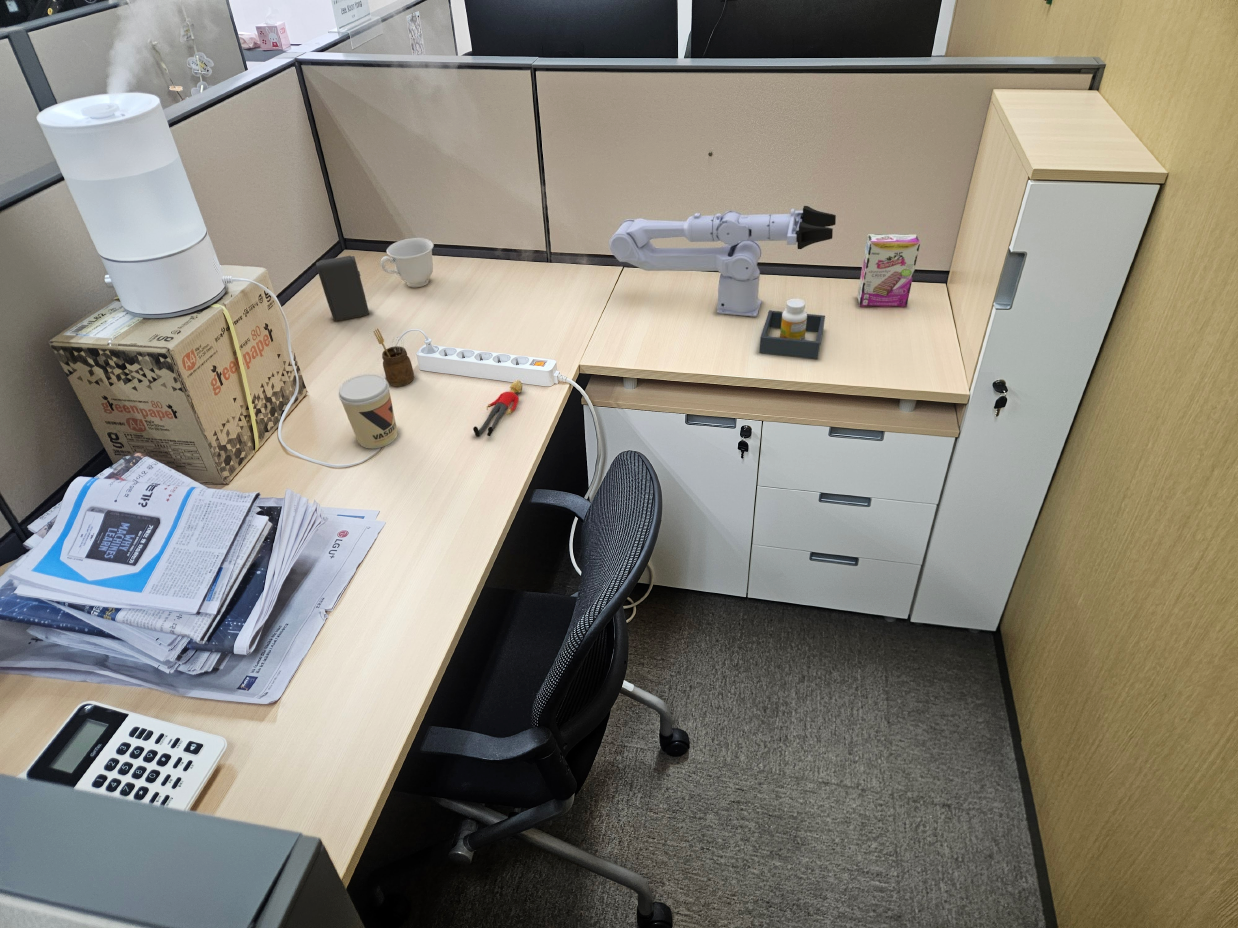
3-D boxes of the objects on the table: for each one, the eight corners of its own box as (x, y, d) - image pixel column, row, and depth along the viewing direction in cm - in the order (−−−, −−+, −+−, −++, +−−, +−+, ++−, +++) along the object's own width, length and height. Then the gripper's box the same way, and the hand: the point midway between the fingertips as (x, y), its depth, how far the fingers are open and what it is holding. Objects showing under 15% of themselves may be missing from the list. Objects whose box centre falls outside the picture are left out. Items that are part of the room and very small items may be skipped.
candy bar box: (859, 308, 188) (869, 242, 178) (856, 298, 192) (866, 233, 182) (908, 308, 187) (921, 242, 176) (904, 298, 191) (916, 233, 180)
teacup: (377, 287, 210) (367, 251, 204) (425, 269, 217) (417, 234, 211) (400, 301, 203) (391, 265, 196) (449, 282, 210) (442, 246, 204)
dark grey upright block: (370, 309, 200) (354, 253, 191) (371, 316, 197) (355, 259, 188) (332, 316, 198) (315, 259, 189) (333, 323, 195) (316, 266, 186)
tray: (759, 353, 174) (760, 337, 172) (767, 325, 184) (769, 310, 181) (817, 359, 171) (819, 343, 169) (823, 331, 180) (825, 315, 178)
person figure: (470, 418, 153) (509, 369, 166) (468, 433, 155) (507, 384, 168) (494, 429, 152) (532, 379, 165) (492, 443, 155) (528, 393, 168)
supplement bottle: (777, 337, 179) (780, 298, 173) (800, 335, 180) (804, 296, 174) (782, 349, 175) (786, 309, 169) (806, 347, 175) (811, 307, 169)
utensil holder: (405, 389, 170) (392, 340, 163) (380, 384, 172) (367, 336, 164) (420, 374, 174) (408, 326, 167) (395, 370, 176) (383, 322, 169)
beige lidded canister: (377, 456, 152) (361, 405, 144) (343, 442, 156) (326, 391, 148) (411, 431, 158) (398, 380, 150) (378, 418, 162) (363, 368, 154)
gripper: (766, 222, 169) (831, 221, 165) (775, 198, 179) (837, 196, 175) (766, 254, 173) (830, 253, 169) (776, 228, 184) (836, 227, 180)
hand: (834, 226), depth 172 cm, fingers open, 7 cm apart
